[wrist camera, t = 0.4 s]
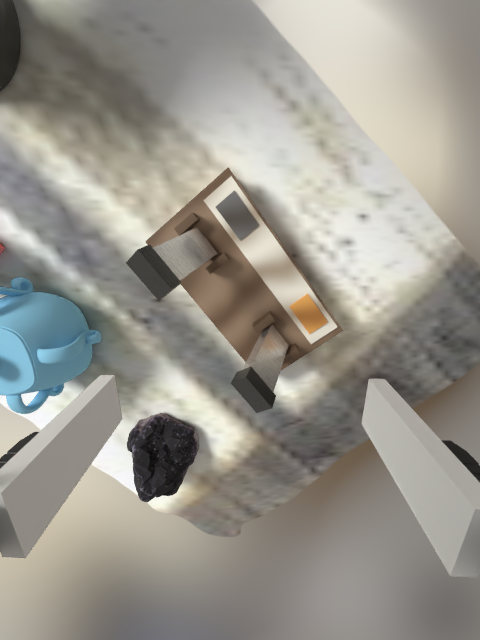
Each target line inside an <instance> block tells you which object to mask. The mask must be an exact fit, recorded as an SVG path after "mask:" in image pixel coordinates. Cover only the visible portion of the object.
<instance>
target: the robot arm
mask: <svg viewBox="0 0 480 640" xmlns="http://www.w3.org/2000/svg"><path fill="white" fill-rule="evenodd" d="M19 52H20V32H19V25H18V19H17V15H16V12H15V8H14V5H13V3H12V0H0V90H1V89H2V88H3V87H4V86H5V85H6V84H7V83H8V82H9V80H10V79H11V77H12V75H13V73H14V71H15V69H16V66H17V62H18V58H19ZM121 420H122V414H121V408H120V403H119V397H118V391H117V386H116V380H115V375H100V376H99V377H98V378H97V379H96V380H95V381H94V382H92V383H91V384H90V385H89V386H88V387H87V388H86V389H85V390H84V391H83V392H82V393H81V394H80V395H79V396H77V397H76V398H75V399H74V400H73V401H72V402H71V403H70V404H69V405H68V406H67V407H66V408H65V409H64V410H63V411H61V412H60V413H59V414H58V415H57V416H56V417H55V418H54V419H53V420H52V421H51V422H50V423H49V424H48V425H47V426H45V427H44V428H43V429H42V430H41V431H40V432H34V433H32V434H30V435H29V436H27V437H25V438H24V439H22V440H20V441H19V442H18V443H17V444H16V445H15V446H14V447H12V448H11V449H10V450H9V451H8V452H7V454H5V455H3V456H2V457H1V458H0V552H1V554H2V557H17V558H26V557H27V555H28V554H29V552H30V551H31V550H32V548H33V547H34V545H35V544H36V542H37V541H38V539H39V538H40V537H41V535H42V534H43V532H44V531H45V529H46V528H47V527H48V525H49V524H50V522H51V521H52V519H53V518H54V516H55V515H56V514H57V512H58V511H59V509H60V508H61V506H62V505H63V503H64V502H65V501H66V499H67V498H68V496H69V495H70V493H71V492H72V491H73V489H74V488H75V486H76V485H77V483H78V482H79V481H80V479H81V478H82V476H83V475H84V473H85V472H86V470H87V469H88V468H89V466H90V465H91V463H92V462H93V460H94V459H95V458H96V456H97V455H98V453H99V452H100V450H101V449H102V447H103V446H104V445H105V443H106V442H107V440H108V439H109V437H110V436H111V435H112V433H113V432H114V430H115V429H116V427H117V426H118V424H119V423H120V422H121ZM362 425H363V427H364V429H365V431H366V432H367V434H368V436H369V437H370V439H371V441H372V442H373V444H374V446H375V448H376V449H377V451H378V453H379V455H380V456H381V458H382V460H383V461H384V463H385V465H386V467H387V468H388V470H389V472H390V473H391V475H392V477H393V478H394V480H395V482H396V484H397V485H398V487H399V489H400V491H401V492H402V494H403V496H404V497H405V499H406V501H407V502H408V504H409V506H410V508H411V510H412V511H413V513H414V515H415V516H416V518H417V520H418V522H419V523H420V525H421V527H422V528H423V530H424V532H425V534H426V535H427V537H428V539H429V540H430V542H431V544H432V545H433V547H434V549H435V551H436V552H437V554H438V556H439V557H440V559H441V561H442V563H443V564H444V566H445V568H446V570H447V571H448V573H449V575H450V576H459V577H460V576H461V577H477V576H478V573H479V571H480V466H479V465H478V463H477V462H476V460H474V458H473V457H471V455H470V454H469V453H467V451H465V450H464V449H462V448H461V447H459V446H458V445H456V444H454V443H453V442H452V441H442V440H440V439H439V438H438V437H437V436H436V434H435V433H434V432H433V431H432V430H431V429H430V428H429V427H428V426H427V425H426V424H425V422H423V420H422V419H421V418H420V417H419V416H418V415H417V414H416V413H415V412H414V411H413V409H412V408H411V407H410V406H409V405H408V404H407V403H406V402H405V401H404V400H403V399H402V397H401V396H400V395H399V394H398V393H397V392H396V391H395V390H394V389H393V388H392V387H391V386H390V384H389V383H388V382H387V381H386V380H385V379H369V382H368V388H367V394H366V400H365V406H364V412H363V419H362Z"/></svg>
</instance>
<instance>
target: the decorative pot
mask: <svg viewBox="0 0 480 640" xmlns="http://www.w3.org/2000/svg"><path fill="white" fill-rule="evenodd" d="M11 287H12V288H7V287H1V286H0V294H4V295H8V296H6V297H3V298H0V395H7V396H6V399H7V403H8V405H9V407H10V408H11V409H12V410H13V411H15V412H17V413H21V414H27V413H31V412H34V411H36V410H37V409H38V408H40V407H41V406H42V404H43V403H44V402H45V401H46V399H47V398H48V396H49V395H50V396H56V395H59V394H60V393H61V392H62V391H63V388H64V383H65V382H67V381H69V380H71V379H73V378H75V377H77V376H78V375H80V374H81V373H83V372H84V371H85V370H86V369H87V368H88V366H89V365H90V363H91V360H92V355H93V349H92V344H96V343H99V342H100V341H101V339H102V335H101V333H100V332H99V331H97V330H89V327H88V324H87V322H86V319H85V317H84V315H83V313H82V311H81V310H80V309H79V308H78V307H77V306H76V305H75V304H74V303H72V302H71V301H69V300H67V299H65V298H63V297H60V296H57V295H54V294H50V293H44V292H33V285H32V283H31V282H30V281H29V280H28V279H26V278H22V277H17V278H14V279H13V280H12V281H11ZM36 391H39V392H38V394H37V395H36V396H35V398H34V399H33V400H32V402H31V403H30V404H29V405H27V406H25V405H24V403H23V401H22V398H21V394H24V393H30V392H36Z"/></svg>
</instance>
